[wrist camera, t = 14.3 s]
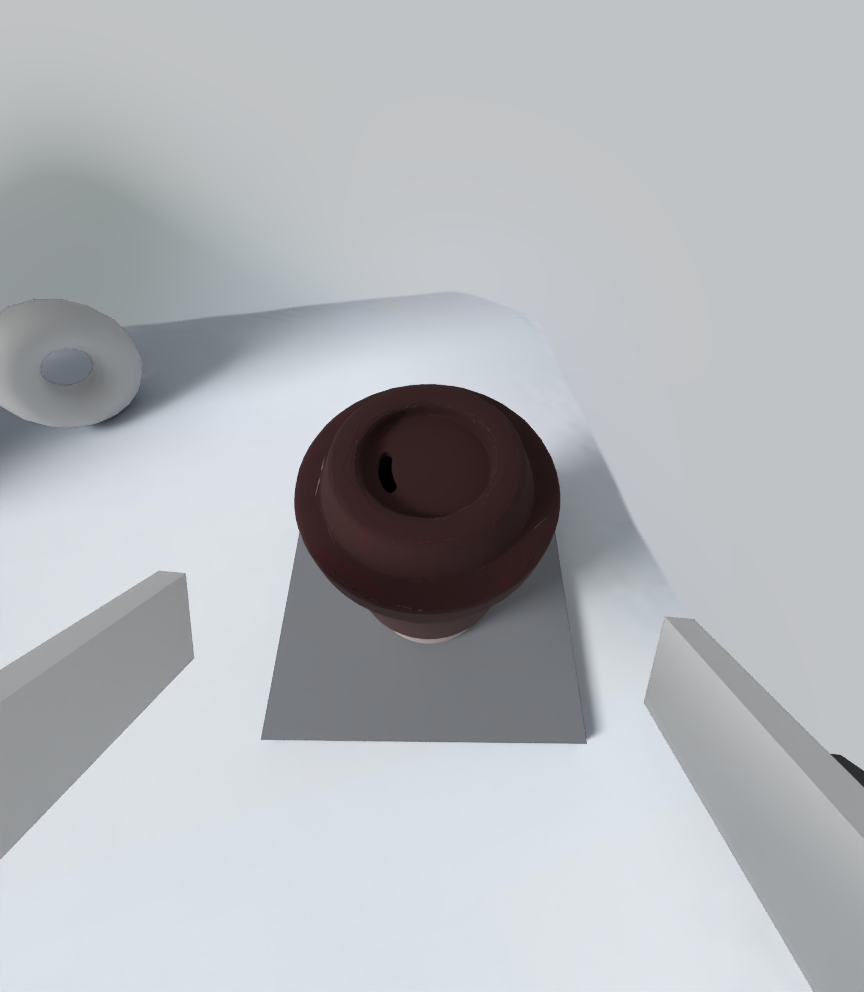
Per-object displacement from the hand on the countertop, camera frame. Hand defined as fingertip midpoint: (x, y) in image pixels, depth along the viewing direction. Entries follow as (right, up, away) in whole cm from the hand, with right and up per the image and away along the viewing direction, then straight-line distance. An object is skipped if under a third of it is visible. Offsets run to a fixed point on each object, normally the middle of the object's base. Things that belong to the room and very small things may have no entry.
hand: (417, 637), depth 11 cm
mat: (0, -2, +17) cm, 17 cm away
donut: (-27, +11, +25) cm, 38 cm away
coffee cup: (0, -2, +16) cm, 16 cm away
